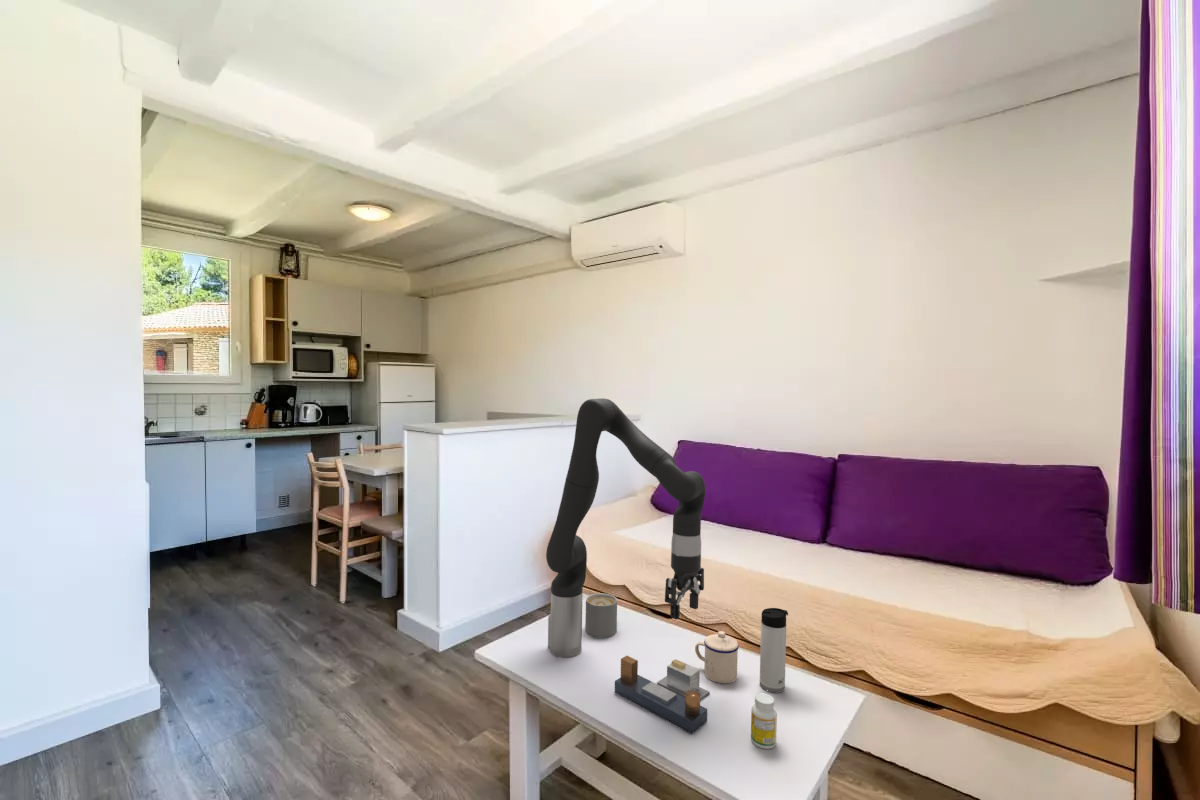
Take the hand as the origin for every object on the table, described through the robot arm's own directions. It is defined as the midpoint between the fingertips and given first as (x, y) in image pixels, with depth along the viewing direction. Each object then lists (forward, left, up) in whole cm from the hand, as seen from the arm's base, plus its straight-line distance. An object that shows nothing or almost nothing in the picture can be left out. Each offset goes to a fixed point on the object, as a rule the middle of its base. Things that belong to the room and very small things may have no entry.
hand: (684, 613), depth 135 cm
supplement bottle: (+24, -4, -20) cm, 31 cm away
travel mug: (+16, +18, -20) cm, 31 cm away
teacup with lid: (+2, +13, -20) cm, 24 cm away
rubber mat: (0, 0, -20) cm, 20 cm away
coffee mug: (-37, +11, -20) cm, 43 cm away
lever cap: (0, 0, -19) cm, 19 cm away
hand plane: (0, -10, -20) cm, 22 cm away
